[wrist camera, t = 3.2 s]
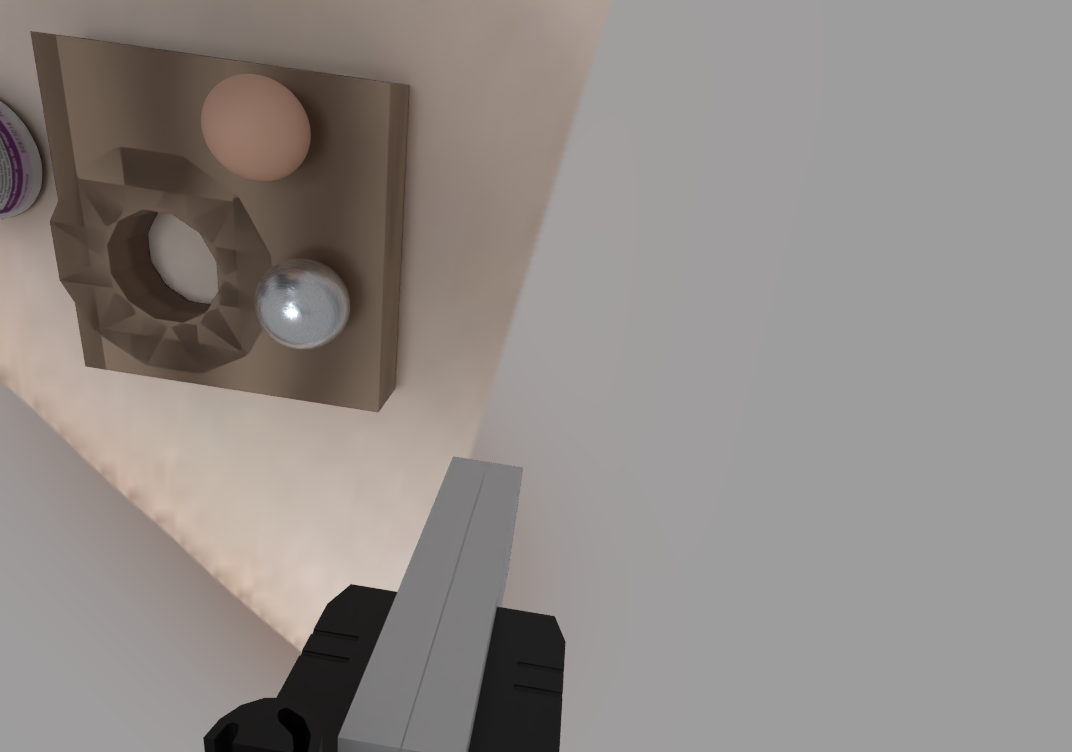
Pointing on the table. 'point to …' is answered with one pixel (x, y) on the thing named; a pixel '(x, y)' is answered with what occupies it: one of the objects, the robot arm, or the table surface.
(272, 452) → the table surface
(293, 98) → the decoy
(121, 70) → the brown flat square slab
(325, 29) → the table surface
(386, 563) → the table surface
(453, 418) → the table surface
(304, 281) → the ball
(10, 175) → the pill bottle
